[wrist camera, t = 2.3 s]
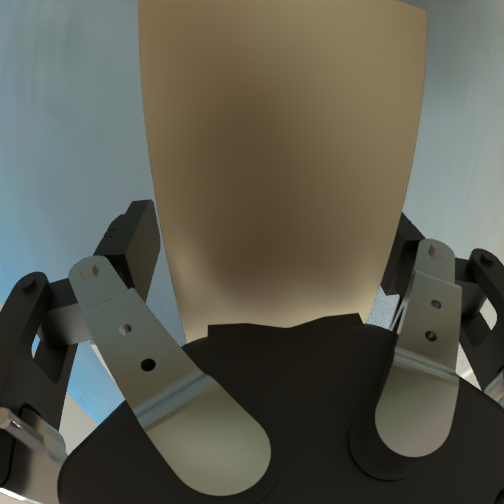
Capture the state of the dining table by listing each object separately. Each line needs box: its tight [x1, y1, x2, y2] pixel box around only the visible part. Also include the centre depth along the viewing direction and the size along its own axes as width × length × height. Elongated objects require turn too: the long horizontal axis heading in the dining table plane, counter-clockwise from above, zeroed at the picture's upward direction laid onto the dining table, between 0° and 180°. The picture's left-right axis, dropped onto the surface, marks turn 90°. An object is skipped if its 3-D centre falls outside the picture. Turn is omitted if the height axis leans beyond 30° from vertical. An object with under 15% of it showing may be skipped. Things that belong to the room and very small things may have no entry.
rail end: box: [138, 0, 427, 343], centre depth 11 cm, size 5×15×9 cm, turn 0°
